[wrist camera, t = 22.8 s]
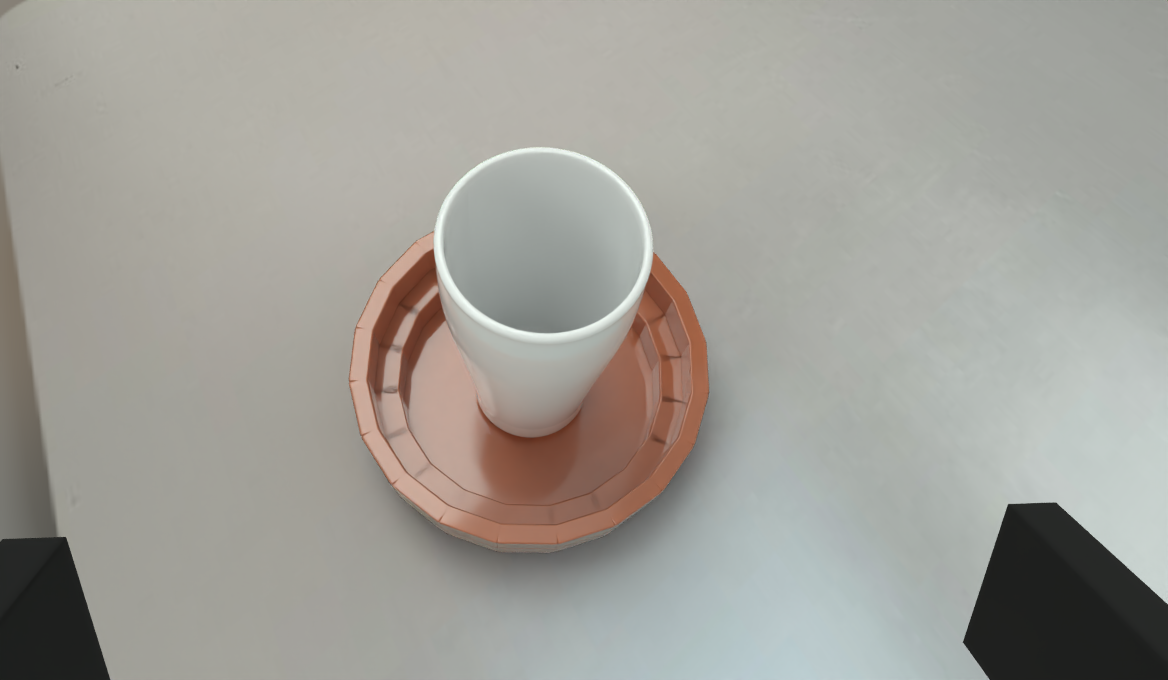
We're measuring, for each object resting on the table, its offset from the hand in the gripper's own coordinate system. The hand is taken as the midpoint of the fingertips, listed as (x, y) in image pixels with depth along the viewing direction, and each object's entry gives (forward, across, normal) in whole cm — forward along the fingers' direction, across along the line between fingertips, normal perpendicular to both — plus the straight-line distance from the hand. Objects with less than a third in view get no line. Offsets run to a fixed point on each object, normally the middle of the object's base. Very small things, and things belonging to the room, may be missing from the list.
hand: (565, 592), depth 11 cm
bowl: (+24, 0, -10) cm, 26 cm away
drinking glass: (+24, 0, -10) cm, 26 cm away
